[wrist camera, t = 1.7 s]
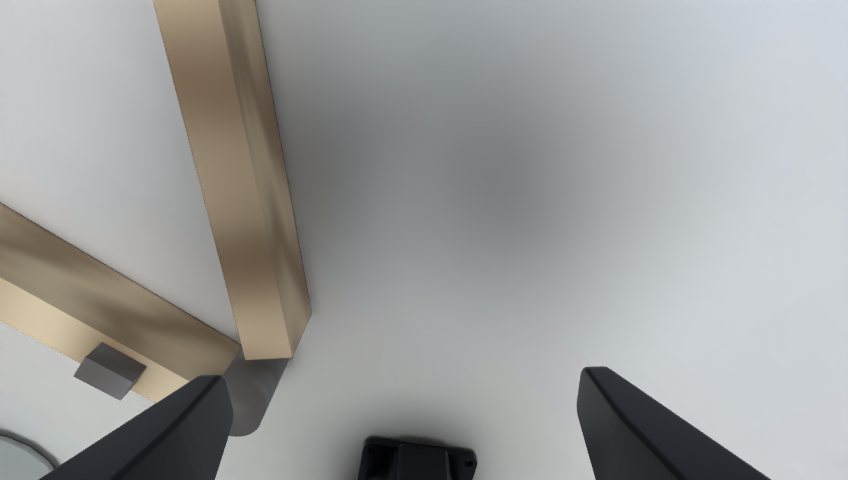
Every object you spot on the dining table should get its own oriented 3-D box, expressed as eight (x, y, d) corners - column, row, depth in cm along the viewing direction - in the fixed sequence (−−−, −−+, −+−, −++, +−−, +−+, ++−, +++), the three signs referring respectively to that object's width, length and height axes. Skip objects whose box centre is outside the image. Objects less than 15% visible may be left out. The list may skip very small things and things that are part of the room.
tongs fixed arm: (299, 346, 23) (272, 411, 18) (261, 392, 24) (227, 463, 20) (-267, -1, 17) (-498, -21, 12) (-283, 83, 18) (-500, 90, 14)
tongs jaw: (311, 313, 22) (292, 357, 19) (271, 315, 22) (245, 360, 19) (200, -301, 14) (131, -414, 10) (137, -295, 14) (47, -407, 10)
